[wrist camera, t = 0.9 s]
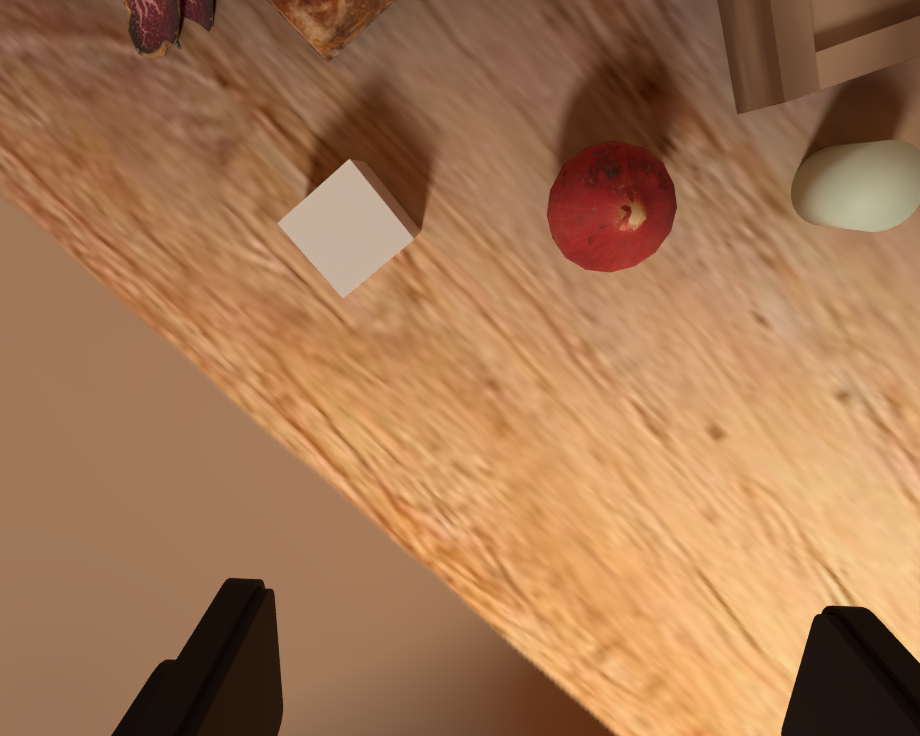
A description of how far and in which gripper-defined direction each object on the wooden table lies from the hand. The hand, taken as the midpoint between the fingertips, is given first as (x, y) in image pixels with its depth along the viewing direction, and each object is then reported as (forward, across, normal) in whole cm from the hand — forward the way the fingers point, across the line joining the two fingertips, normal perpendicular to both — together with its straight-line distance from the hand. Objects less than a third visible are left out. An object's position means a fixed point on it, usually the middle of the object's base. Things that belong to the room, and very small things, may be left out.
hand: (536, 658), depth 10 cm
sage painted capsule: (+24, -17, -8) cm, 31 cm away
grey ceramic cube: (+24, +7, -5) cm, 25 cm away
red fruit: (+24, -5, -7) cm, 25 cm away
